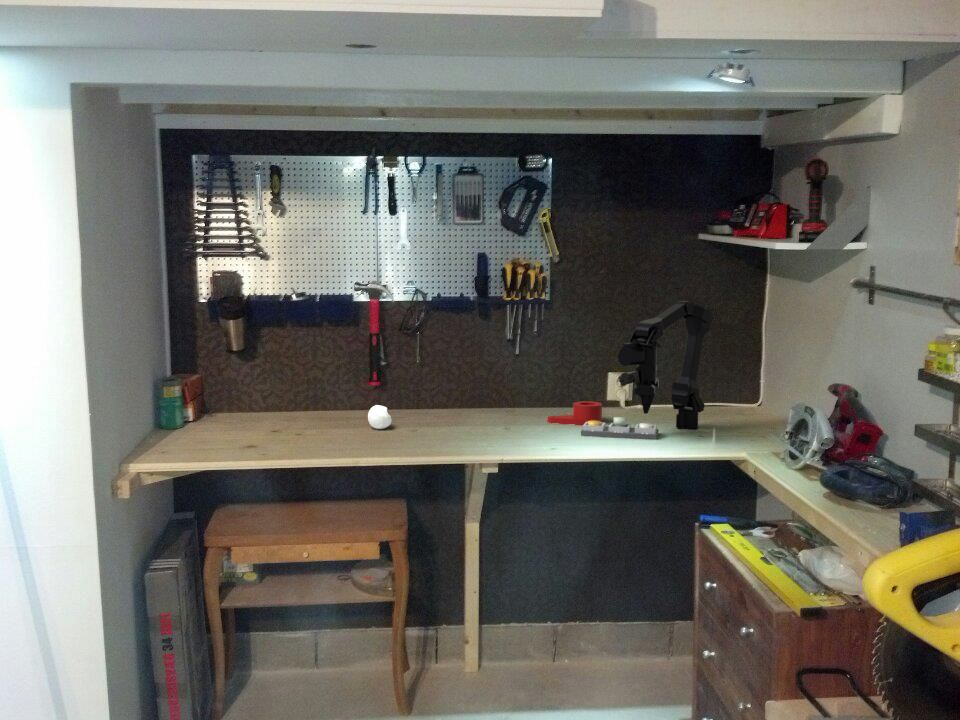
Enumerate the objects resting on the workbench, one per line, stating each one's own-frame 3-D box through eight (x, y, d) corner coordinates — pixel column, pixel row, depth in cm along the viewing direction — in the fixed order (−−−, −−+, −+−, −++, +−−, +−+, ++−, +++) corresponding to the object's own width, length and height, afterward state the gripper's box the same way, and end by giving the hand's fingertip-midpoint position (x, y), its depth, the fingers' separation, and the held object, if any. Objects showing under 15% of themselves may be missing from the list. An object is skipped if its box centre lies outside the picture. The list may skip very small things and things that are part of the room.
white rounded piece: (392, 431, 298) (392, 407, 297) (368, 431, 296) (368, 407, 295) (390, 426, 305) (390, 402, 304) (367, 426, 304) (367, 403, 303)
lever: (599, 420, 315) (599, 401, 314) (603, 426, 306) (603, 406, 305) (546, 420, 315) (546, 401, 314) (548, 426, 306) (548, 406, 305)
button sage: (627, 423, 292) (627, 417, 292) (625, 425, 288) (625, 419, 288) (614, 422, 293) (614, 416, 293) (612, 425, 289) (612, 418, 289)
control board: (658, 433, 293) (658, 424, 292) (656, 439, 284) (656, 430, 284) (585, 429, 299) (585, 420, 298) (580, 435, 290) (581, 426, 289)
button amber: (601, 426, 295) (601, 420, 294) (599, 429, 291) (599, 423, 290) (588, 426, 296) (589, 420, 295) (587, 428, 292) (587, 422, 291)
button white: (652, 429, 290) (653, 423, 290) (651, 432, 287) (652, 425, 286) (639, 428, 291) (640, 422, 291) (638, 431, 288) (638, 425, 287)
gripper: (624, 358, 297) (623, 407, 299) (617, 366, 279) (616, 417, 281) (659, 359, 294) (658, 408, 296) (654, 367, 276) (653, 419, 278)
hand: (645, 413), depth 288 cm, fingers closed
